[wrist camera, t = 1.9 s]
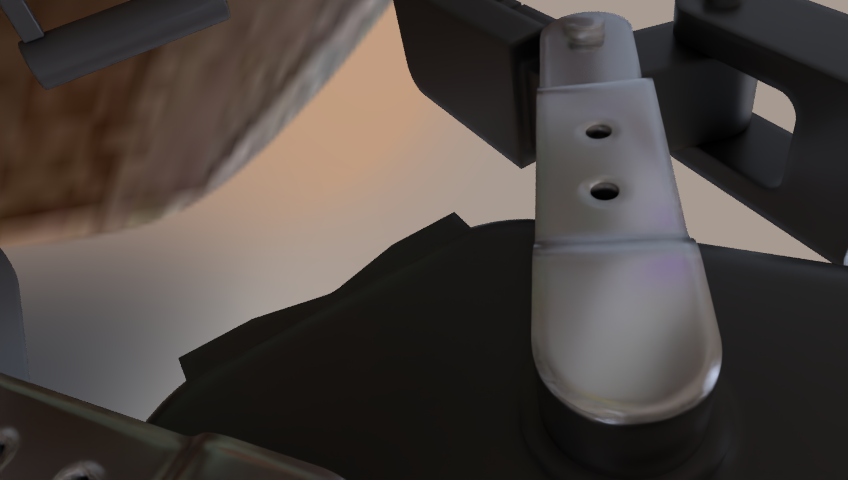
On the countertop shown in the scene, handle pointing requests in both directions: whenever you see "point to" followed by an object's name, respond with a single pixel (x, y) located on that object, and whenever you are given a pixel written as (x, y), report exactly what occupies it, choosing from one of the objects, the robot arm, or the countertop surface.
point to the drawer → (106, 34)
